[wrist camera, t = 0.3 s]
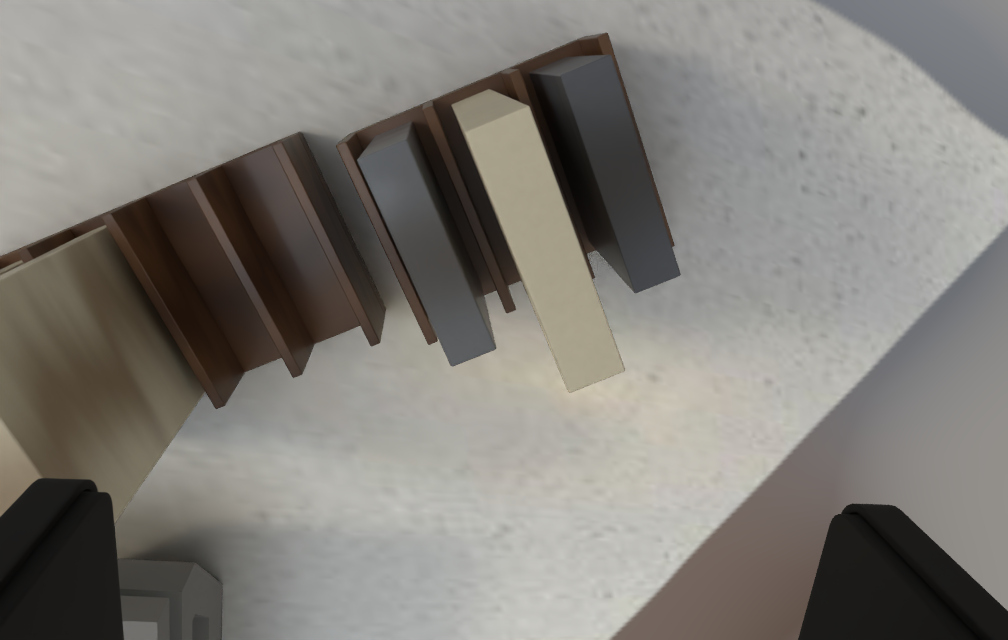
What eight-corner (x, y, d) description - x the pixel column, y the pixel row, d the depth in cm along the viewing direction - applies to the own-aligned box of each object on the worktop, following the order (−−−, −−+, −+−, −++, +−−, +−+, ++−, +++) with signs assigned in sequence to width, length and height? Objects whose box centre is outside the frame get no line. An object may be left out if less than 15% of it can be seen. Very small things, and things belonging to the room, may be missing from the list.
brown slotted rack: (347, 134, 36) (318, 159, 27) (584, 36, 36) (639, 26, 26) (428, 312, 40) (427, 389, 30) (645, 224, 39) (713, 275, 30)
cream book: (451, 104, 35) (464, 132, 21) (489, 88, 35) (529, 105, 21) (517, 272, 38) (569, 393, 24) (553, 257, 38) (625, 371, 24)
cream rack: (-4, 257, 36) (-308, 393, 21) (300, 130, 36) (207, 179, 21) (106, 423, 40) (-90, 640, 25) (386, 309, 39) (359, 462, 24)
